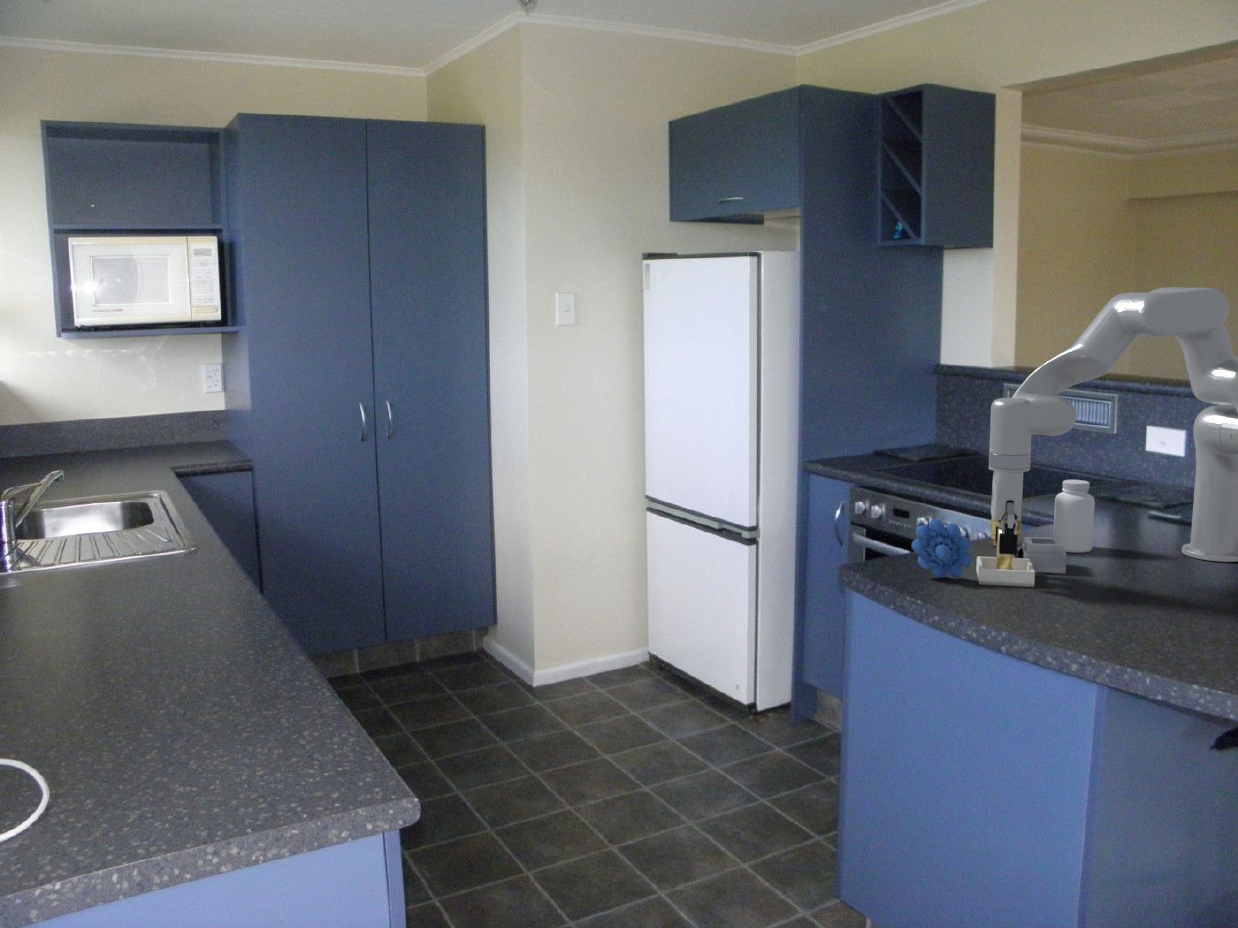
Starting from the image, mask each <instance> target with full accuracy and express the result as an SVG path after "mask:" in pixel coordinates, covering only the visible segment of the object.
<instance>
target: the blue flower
mask: <svg viewBox="0 0 1238 928" xmlns="http://www.w3.org/2000/svg"><path fill="white" fill-rule="evenodd" d="M961 532H962V531H961V528H960V527H959V525H957V524H955V523H948V524H946V525H945V523H944V522H943V521H942V520H940V519H937V518H934V519H932V520H930V522H929V525H928V526H927V525H919V526H917V527H916V530H915V533H916V536H917V537H918V538H916V539H914V540H913V541H912V542H911V549H912V550H913V551H914V552H915V553H916V554H918V557H917V562H918V565H919V566H920V567H921V568H922V569H925V570H929V569H931V572H932V574H933V575H934V576H935V577H936V578H939V579H941V578H942V579H944V578H947V576H948V575H950V577H953V578H955V579H958V578H959V577H961V576H962V575H963V573H964V570H963V568H969V567H971V566H972V565H973V561H974V560H973V558H972V556H971V554H970V553H968V552H969V551H971V549H972V542H971V540H970V539H969V538H968V537H965V536H963V535H962V536H961V534H962V533H961Z"/></svg>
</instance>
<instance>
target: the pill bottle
mask: <svg viewBox="0 0 1238 928" xmlns="http://www.w3.org/2000/svg"><path fill="white" fill-rule="evenodd" d="M1089 489H1090V482H1089V481H1086V480H1081V479H1065V480H1063V481H1062V489H1061V490H1062V491H1061V492H1060V493H1058V494H1057V495H1056V496H1055V499H1054V511H1053V512H1054V514H1053V515H1054V516H1053V517H1054V518H1053V532H1052V533H1053V537H1052V538H1059V539H1060V541H1061V543H1062V545H1063V549H1064V550H1065V552H1066V553H1074V554H1075V553H1076V554H1078V553H1079V554H1083V553H1088V552H1091V551H1092V550H1093V544H1094V543H1093V542H1094V524H1095V523H1094V522H1095V508H1096V507H1095V506H1096V501H1095V498H1094V496H1093V495H1092V494H1091V493H1088V492H1089Z"/></svg>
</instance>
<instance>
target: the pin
mask: <svg viewBox="0 0 1238 928" xmlns="http://www.w3.org/2000/svg"><path fill="white" fill-rule="evenodd" d="M996 526H997V527H998V541H997V567H996V569H1001V570H1014V555H1013V554H1000V553H999V539H1000V533H1001V520H997V522H996ZM1017 527H1018V522H1017Z"/></svg>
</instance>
